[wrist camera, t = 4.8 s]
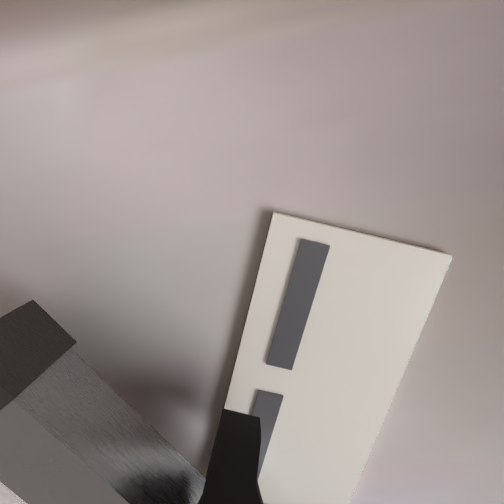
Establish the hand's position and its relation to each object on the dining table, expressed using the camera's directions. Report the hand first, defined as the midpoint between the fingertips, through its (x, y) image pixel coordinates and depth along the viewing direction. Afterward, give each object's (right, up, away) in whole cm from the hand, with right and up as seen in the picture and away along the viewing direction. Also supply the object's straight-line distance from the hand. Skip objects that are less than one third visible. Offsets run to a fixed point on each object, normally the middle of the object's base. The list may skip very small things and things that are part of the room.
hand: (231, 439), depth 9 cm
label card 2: (+3, +4, 0) cm, 5 cm away
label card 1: (+2, -1, +1) cm, 3 cm away
